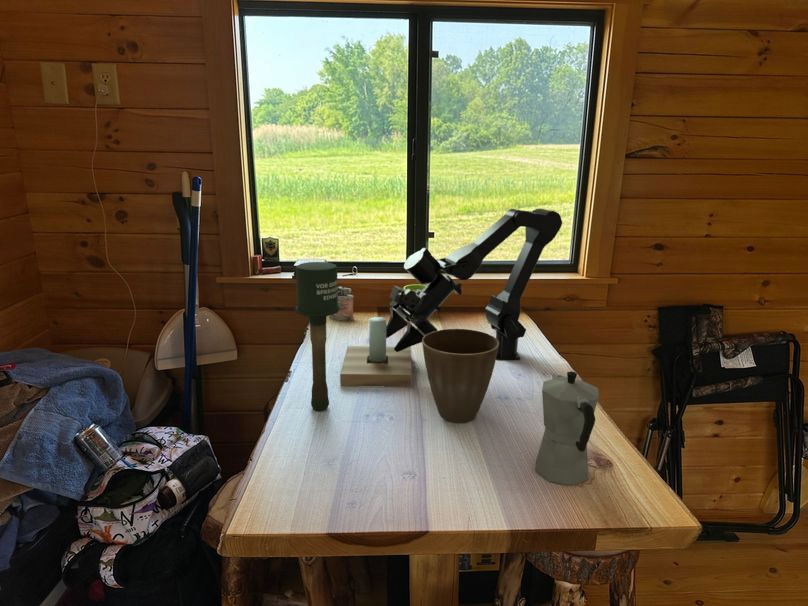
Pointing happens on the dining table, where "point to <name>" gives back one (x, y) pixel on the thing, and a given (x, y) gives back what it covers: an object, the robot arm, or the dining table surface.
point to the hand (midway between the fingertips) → (388, 344)
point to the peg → (377, 340)
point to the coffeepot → (566, 429)
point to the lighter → (344, 305)
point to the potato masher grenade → (317, 318)
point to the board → (376, 368)
